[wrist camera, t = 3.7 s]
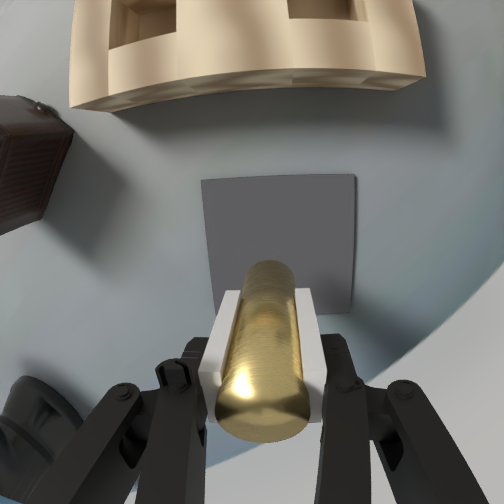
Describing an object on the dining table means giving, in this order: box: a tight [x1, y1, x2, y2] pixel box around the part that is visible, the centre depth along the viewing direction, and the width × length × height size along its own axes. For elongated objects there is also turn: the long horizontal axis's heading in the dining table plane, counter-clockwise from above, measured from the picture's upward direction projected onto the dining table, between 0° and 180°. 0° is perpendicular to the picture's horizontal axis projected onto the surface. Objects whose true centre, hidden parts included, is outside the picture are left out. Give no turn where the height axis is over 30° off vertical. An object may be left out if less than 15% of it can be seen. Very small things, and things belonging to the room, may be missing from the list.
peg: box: [214, 260, 311, 443], centre depth 14 cm, size 3×3×11 cm
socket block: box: [69, 0, 426, 113], centre depth 17 cm, size 24×12×6 cm, turn 94°
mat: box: [201, 174, 355, 316], centre depth 25 cm, size 12×12×1 cm
